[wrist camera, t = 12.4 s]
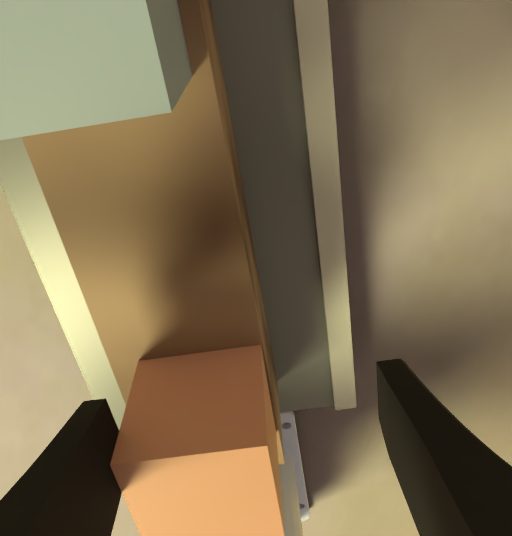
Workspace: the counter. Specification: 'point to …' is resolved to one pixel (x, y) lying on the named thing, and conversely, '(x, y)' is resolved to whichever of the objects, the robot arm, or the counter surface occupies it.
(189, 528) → the block
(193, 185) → the board
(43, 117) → the block
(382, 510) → the counter surface
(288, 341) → the dock
